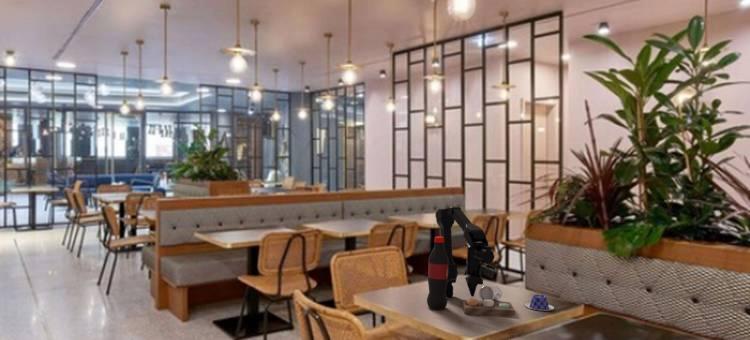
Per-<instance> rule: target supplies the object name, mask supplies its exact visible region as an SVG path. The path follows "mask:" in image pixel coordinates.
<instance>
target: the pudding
mask: <svg viewBox="0 0 750 340" xmlns="http://www.w3.org/2000/svg"><path fill="white" fill-rule="evenodd" d="M524 306H525V307H526V308H528V309H531V310H536V311H543V312H545V311H553V310H554V309H555V307H554V306H553V305H551V304H549V301H548V297H547V296H546V295H543V294H533V295H532V297H531V301H530V302H527V303H525V304H524Z"/></svg>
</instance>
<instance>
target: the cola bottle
mask: <svg viewBox="0 0 750 340" xmlns="http://www.w3.org/2000/svg"><path fill="white" fill-rule="evenodd" d="M433 243H434V246H433V249H432V250H431V252H430V255H429V257H428V259H427V260H428V261H427V262H428V271H427V274H428V276H427V282H428V283H427V284H428V294H427V297H426V304H427V306H428V308H430V309H431V310H435V311H442V310H445V309H446V308H447V305H448V298H447V296H446V288H447V283H448V263H449V260H448V257H447V254H446V251H445V249H444V245H443V243H444V237H441V235H439V236H435V237H434V242H433Z"/></svg>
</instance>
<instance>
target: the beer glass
mask: <svg viewBox="0 0 750 340" xmlns="http://www.w3.org/2000/svg"><path fill="white" fill-rule="evenodd" d="M502 292H503V291H502V289H501V288H500V287H499V286H497V285H494V286H493V285H488V284H487V285H484V286H483V285H482V287H481V288H480V289H479V291H478V297H479V298H480V300H481V301H483V300H485V299H488V300H493V301H498V300H500V299H501V298H502V295H503V293H502Z"/></svg>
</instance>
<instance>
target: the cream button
mask: <svg viewBox="0 0 750 340" xmlns="http://www.w3.org/2000/svg"><path fill="white" fill-rule="evenodd" d="M482 301H483V306H486V307H493V305H494V301H495V300H494V301H493V300H488V299H485V300H482Z"/></svg>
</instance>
